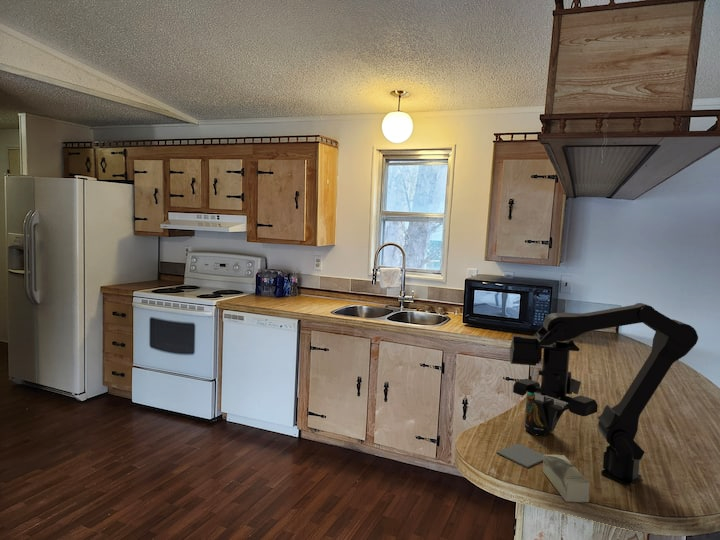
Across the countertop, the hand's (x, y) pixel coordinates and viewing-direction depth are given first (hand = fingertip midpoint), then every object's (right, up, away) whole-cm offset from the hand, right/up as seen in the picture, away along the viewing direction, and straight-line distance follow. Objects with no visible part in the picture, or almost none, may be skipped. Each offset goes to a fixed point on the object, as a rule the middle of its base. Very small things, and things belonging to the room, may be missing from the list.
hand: (550, 431), depth 114 cm
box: (0, -7, -1) cm, 7 cm away
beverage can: (+5, -8, +22) cm, 24 cm away
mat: (-4, -8, +7) cm, 12 cm away
